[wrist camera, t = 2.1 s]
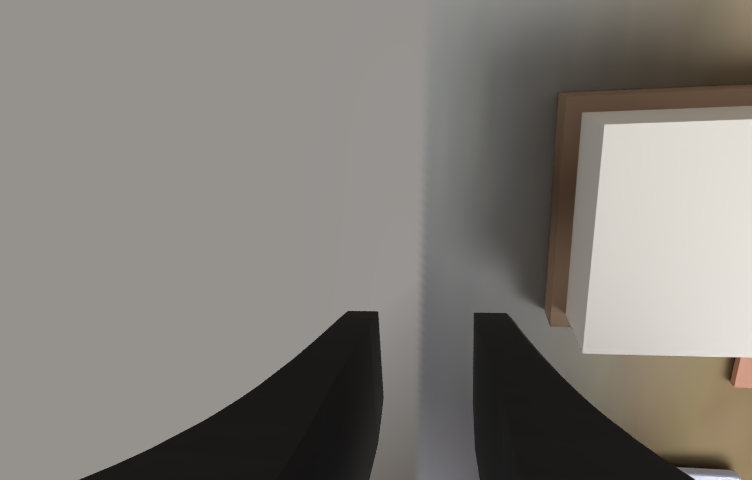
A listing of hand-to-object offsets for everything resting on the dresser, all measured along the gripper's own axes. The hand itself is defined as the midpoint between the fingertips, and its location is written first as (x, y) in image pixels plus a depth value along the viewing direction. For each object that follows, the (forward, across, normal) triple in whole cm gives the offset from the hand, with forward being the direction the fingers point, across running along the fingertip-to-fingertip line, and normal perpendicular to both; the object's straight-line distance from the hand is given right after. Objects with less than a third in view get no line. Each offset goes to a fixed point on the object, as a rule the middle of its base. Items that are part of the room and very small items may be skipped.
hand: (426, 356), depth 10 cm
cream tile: (+8, -8, 0) cm, 11 cm away
